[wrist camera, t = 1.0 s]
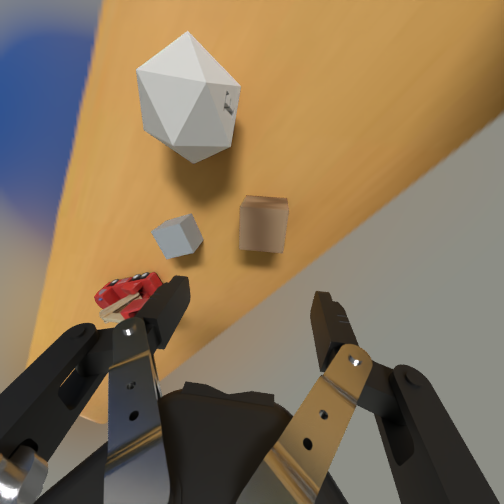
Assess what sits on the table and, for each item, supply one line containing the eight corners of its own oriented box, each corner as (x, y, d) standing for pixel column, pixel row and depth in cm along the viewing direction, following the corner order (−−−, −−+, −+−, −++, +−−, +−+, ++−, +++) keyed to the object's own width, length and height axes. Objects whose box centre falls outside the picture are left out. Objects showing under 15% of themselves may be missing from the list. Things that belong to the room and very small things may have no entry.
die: (212, 174, 25) (248, 162, 17) (132, 150, 21) (128, 118, 13) (224, 103, 24) (268, 53, 16) (141, 62, 20) (143, -37, 11)
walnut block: (287, 198, 25) (288, 210, 21) (282, 235, 27) (282, 253, 23) (246, 195, 25) (240, 206, 21) (245, 232, 28) (239, 249, 23)
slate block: (192, 213, 27) (179, 223, 24) (203, 239, 29) (193, 252, 26) (166, 220, 28) (150, 231, 25) (179, 245, 30) (166, 259, 26)
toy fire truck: (107, 280, 35) (53, 324, 26) (176, 265, 32) (139, 310, 23) (118, 295, 36) (70, 342, 28) (185, 282, 33) (153, 330, 25)
